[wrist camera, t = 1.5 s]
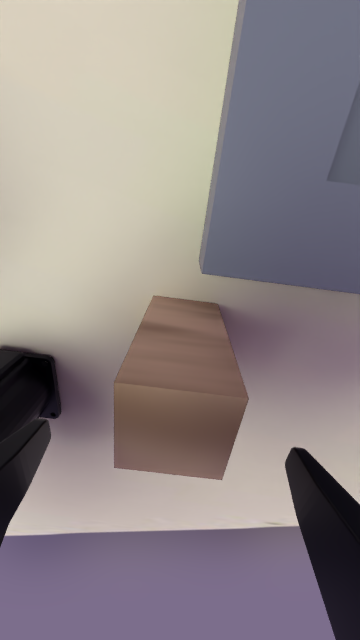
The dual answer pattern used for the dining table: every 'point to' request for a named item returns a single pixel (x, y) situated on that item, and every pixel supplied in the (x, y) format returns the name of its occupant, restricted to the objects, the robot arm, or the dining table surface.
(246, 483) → the dining table surface
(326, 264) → the socket block
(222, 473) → the oak peg
